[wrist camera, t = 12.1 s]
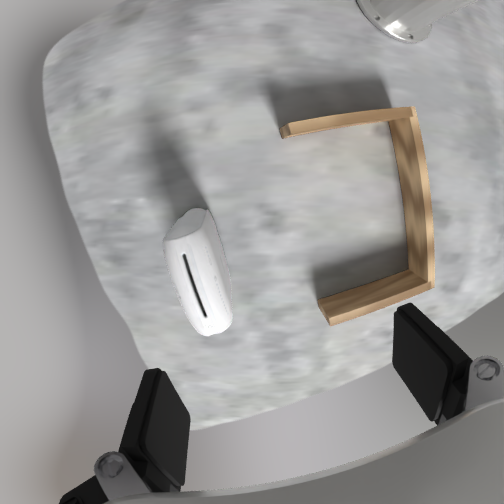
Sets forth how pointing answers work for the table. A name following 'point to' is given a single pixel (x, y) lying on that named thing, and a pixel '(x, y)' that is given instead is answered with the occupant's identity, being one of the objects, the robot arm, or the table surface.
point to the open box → (415, 212)
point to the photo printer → (199, 271)
